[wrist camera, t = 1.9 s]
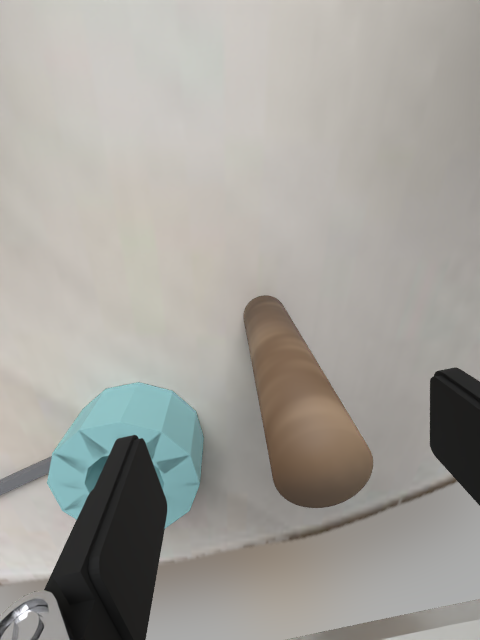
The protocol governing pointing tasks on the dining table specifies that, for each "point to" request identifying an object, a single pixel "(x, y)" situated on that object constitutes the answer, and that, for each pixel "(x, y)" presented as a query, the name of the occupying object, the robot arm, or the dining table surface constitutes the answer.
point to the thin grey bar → (25, 476)
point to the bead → (121, 421)
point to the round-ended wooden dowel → (302, 414)
